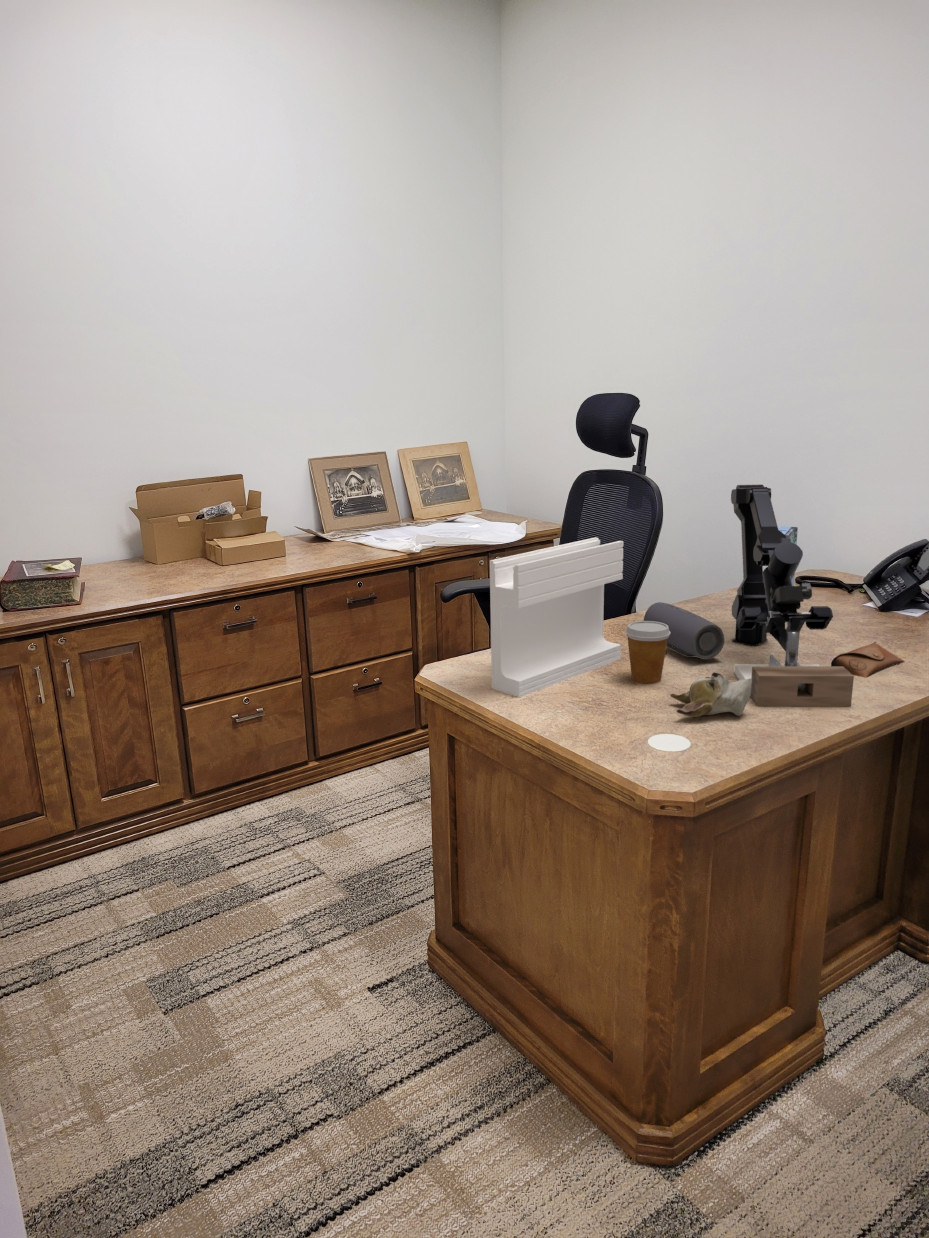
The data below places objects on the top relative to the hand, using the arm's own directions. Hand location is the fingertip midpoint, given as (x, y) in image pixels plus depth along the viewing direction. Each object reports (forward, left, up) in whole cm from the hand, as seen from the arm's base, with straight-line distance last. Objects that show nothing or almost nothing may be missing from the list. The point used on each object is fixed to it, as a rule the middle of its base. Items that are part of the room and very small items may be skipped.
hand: (789, 653), depth 182 cm
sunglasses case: (+8, +25, -8) cm, 27 cm away
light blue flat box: (-27, +54, -8) cm, 61 cm away
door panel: (-2, +2, -7) cm, 8 cm away
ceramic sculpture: (-4, -24, -8) cm, 26 cm away
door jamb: (+6, -7, -7) cm, 11 cm away
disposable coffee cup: (-25, -15, -7) cm, 30 cm away
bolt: (+3, -3, -5) cm, 7 cm away
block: (-42, -24, -8) cm, 49 cm away
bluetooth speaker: (-30, +8, -8) cm, 32 cm away
